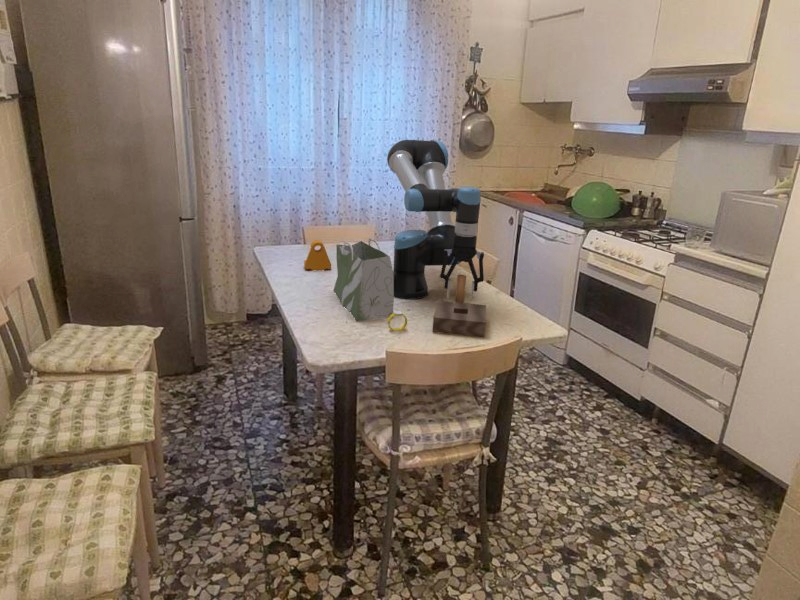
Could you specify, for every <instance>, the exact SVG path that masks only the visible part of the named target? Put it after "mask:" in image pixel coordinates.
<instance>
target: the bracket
mask: <svg viewBox="0 0 800 600" xmlns="http://www.w3.org/2000/svg"><path fill="white" fill-rule="evenodd" d="M317 246H320V248H319V249H316V247H317ZM303 264H304V265H303V266H304V269H305V270H311V271H312V270H324V271H326V270H327V269H328V270H329V269H332V263H331V260H330V259H329V256H328V252H327V251H326V248H325V245H324V243H323V241H321V240H317V239H316V240H313V241H311V244H310V249H309V252H308V254H307V257H306V259H305V260H303Z"/></svg>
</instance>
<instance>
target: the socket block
mask: <svg viewBox="0 0 800 600" xmlns="http://www.w3.org/2000/svg"><path fill="white" fill-rule="evenodd" d="M432 317H433V318H432V319H433V320H432V330H431V332H432V333H435V334H436V333H438V334H444V335H445V334H446V335H456V336H465V337H475V338H485V332H486V325H487V305H486V304H480V303H479V304H477V303H468V302H467V303H466V302H464V303H459V302H455V301H446V300H437V304H436V307H435V310H434V314H433V316H432Z"/></svg>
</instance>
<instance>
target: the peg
mask: <svg viewBox="0 0 800 600" xmlns="http://www.w3.org/2000/svg"><path fill="white" fill-rule="evenodd" d="M456 278H457V279H456V289H455V290H456V291H455V300H454V302H459V303H465V294H466V285H467V284H466V283H467V275H465V274H457V277H456Z"/></svg>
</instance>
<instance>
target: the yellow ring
mask: <svg viewBox="0 0 800 600" xmlns="http://www.w3.org/2000/svg"><path fill="white" fill-rule="evenodd" d="M396 316H397V317H401V316H402V317H403V318H404V323H403V325H402V326H401V327H397V328H393V327H391V324H390V323H391V321H392V319H393V318H392V317H396ZM387 325H388V328H389V329H390V330H392V332H394V331H395V332H397V331H403V330H404V329H406V328H407V325H408V319H407V317H406V315H405V314H404V313H403V311H400V310H393V314H392V315H390V317H389V318H387Z"/></svg>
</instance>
